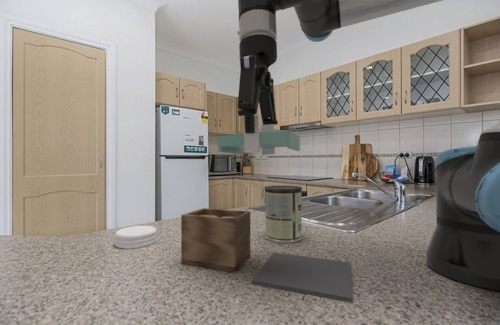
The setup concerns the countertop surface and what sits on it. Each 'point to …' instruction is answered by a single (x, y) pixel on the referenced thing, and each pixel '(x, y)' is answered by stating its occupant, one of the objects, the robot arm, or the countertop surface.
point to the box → (215, 239)
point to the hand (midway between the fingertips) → (261, 153)
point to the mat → (307, 276)
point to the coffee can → (283, 213)
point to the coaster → (135, 237)
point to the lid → (266, 141)
